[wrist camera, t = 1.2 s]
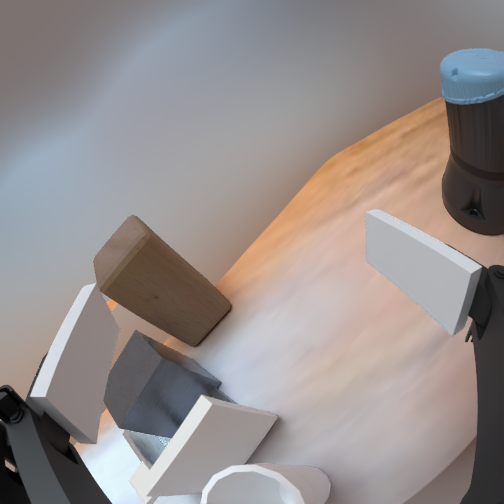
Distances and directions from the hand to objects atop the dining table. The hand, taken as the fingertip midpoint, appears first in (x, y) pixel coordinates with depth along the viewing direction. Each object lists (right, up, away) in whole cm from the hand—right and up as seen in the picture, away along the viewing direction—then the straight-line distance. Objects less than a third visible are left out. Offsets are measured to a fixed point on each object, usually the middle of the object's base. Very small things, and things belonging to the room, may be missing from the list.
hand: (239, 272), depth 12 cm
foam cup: (+7, -26, +10) cm, 29 cm away
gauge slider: (-3, -25, +15) cm, 29 cm away
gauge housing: (-7, -25, +21) cm, 33 cm away
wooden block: (-8, -10, +35) cm, 37 cm away
